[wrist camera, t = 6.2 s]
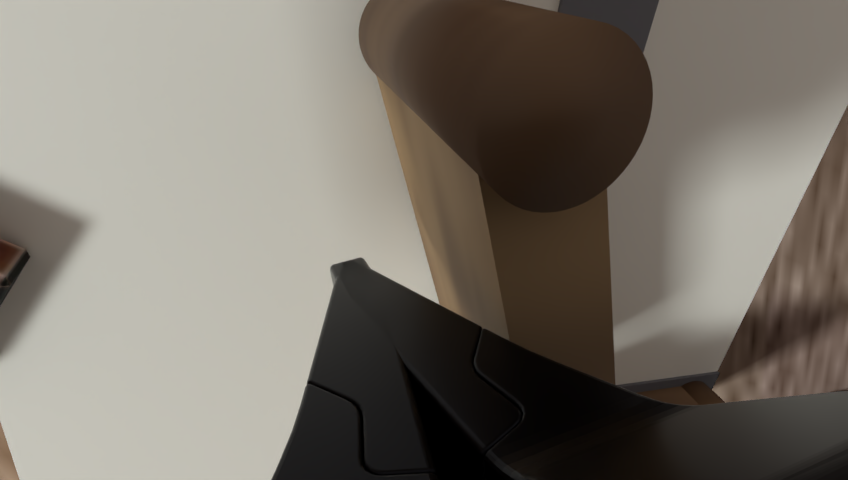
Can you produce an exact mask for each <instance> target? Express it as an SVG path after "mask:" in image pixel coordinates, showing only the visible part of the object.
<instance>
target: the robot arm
mask: <svg viewBox="0 0 848 480" xmlns="http://www.w3.org/2000/svg"><path fill="white" fill-rule="evenodd" d="M330 273H331V278H332V282H333V290H332V293H331V297H330V301H329V304H328V308H327V311H326V315H325V319H324V322H323V326H322V329H321V333H320V337H319V340H318V344H317V347H316V351H315V355H314V358H313V362H312V366H311V369H310V373H309V376H308V380H307V385H306V387H305V390H304V393H303V397H302V401H301V404H300V407H299V410H298V414H297V417H296V420H295V423H294V426H293V429H292V432H291V434H290V437H289V439H288V442H287V444H286V446H285V449H284V451H283V454H282V456H281V458H280V461H279V463H278V466H277V468H276V470H275V472H274V474H273V477H272V479H271V480H848V391H840V392H830V393H820V394H809V395H799V396H789V397H779V398H769V399H759V400H749V401H739V402H728V403H718V404H708V405H679V404H672V403H666V402H662V401H658V400H654V399H651V398H648V397H645V396H642V395H640V394H637V393H634V392H632V391H629V390H627V389H624V388H622V387H619V386H617V385H614V384H612V383H609V382H606V381H604V380H601V379H599V378H596V377H594V376H591V375H589V374H586V373H584V372H581V371H579V370H576V369H574V368H571V367H568V366H566V365H563V364H561V363H558V362H556V361H554V360H551V359H549V358H547V357H544V356H542V355H539V354H537V353H535V352H532V351H530V350H528V349H526V348H524V347H522V346H520V345H517V344H515V343H513V342H511V341H509V340H507V339H505V338H503V337H501V336H499V335H497V334H495V333H493V332H491V331H490V330H488V329H485V328H484V329H482V327H481V326H480V325H478V324H476V323H474V322H472V321H470V320H468V319H466V318H464V317H462V316H460V315H458V314H457V313H455V312H453V311H451V310H449V309H447V308H445V307H443V306H441V305H439V304H437V303H435V302H434V301H432V300H430V299H428V298H426V297H424V296H422V295H420V294H418V293H416V292H414V291H412V290H411V289H409V288H407V287H405V286H403V285H401V284H399V283H397V282H395V281H393V280H391V279H389V278H388V277H386V276H384V275H382V274H380V273H378V272H376V271H374V270H372V269H370V267H369V265H368V264H367V262H366V261H365V260H364V259H363V258H361V257H360V258H356V259H352V260H348V261H344V262H340V263H337V264H333V265H332V266H331V267H330Z"/></svg>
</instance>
